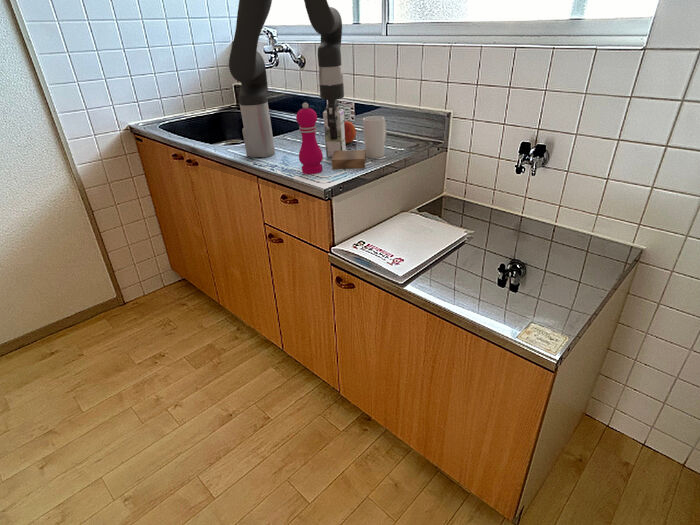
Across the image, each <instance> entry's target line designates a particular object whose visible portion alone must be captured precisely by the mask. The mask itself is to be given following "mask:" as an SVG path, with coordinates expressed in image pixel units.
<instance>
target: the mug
mask: <svg viewBox="0 0 700 525" xmlns="http://www.w3.org/2000/svg"><path fill="white" fill-rule="evenodd" d="M362 124H363V125H362V127H363V139H364V140H363V143H364V150H366V159H372V160H373V159H381V158H383V157H384V156H385V144H386V138H387V125H386V121H385V117H384V116H381V115H380V116H379V115H378V116H377V115H372V116H366V117H363V118H362Z"/></svg>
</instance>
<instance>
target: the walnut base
mask: <svg viewBox="0 0 700 525" xmlns="http://www.w3.org/2000/svg"><path fill="white" fill-rule="evenodd" d="M366 161H367V157H366V150H365V149H352V150H351V149H346V150H345V151H334V154H333V157H331V169H332V170H333V171H334V170H357V169H358V170H359V169H361V170H362V169H365V168H366Z"/></svg>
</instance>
